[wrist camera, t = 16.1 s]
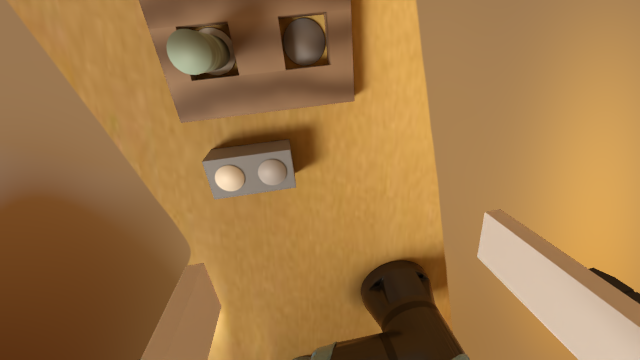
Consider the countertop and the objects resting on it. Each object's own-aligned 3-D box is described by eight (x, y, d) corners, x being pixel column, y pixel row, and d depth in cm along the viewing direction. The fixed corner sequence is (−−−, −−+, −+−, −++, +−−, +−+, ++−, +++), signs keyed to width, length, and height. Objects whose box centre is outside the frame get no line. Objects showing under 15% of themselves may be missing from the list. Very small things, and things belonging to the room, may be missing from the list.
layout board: (350, 98, 39) (354, 101, 37) (187, 118, 37) (180, 122, 35) (344, -37, 32) (349, -43, 29) (141, -19, 30) (130, -25, 28)
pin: (233, 67, 35) (215, 72, 26) (202, 70, 35) (175, 77, 26) (225, 33, 33) (204, 26, 24) (193, 36, 33) (159, 30, 24)
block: (294, 173, 43) (296, 188, 38) (221, 184, 42) (214, 200, 38) (289, 139, 40) (290, 150, 36) (211, 149, 40) (201, 162, 35)
